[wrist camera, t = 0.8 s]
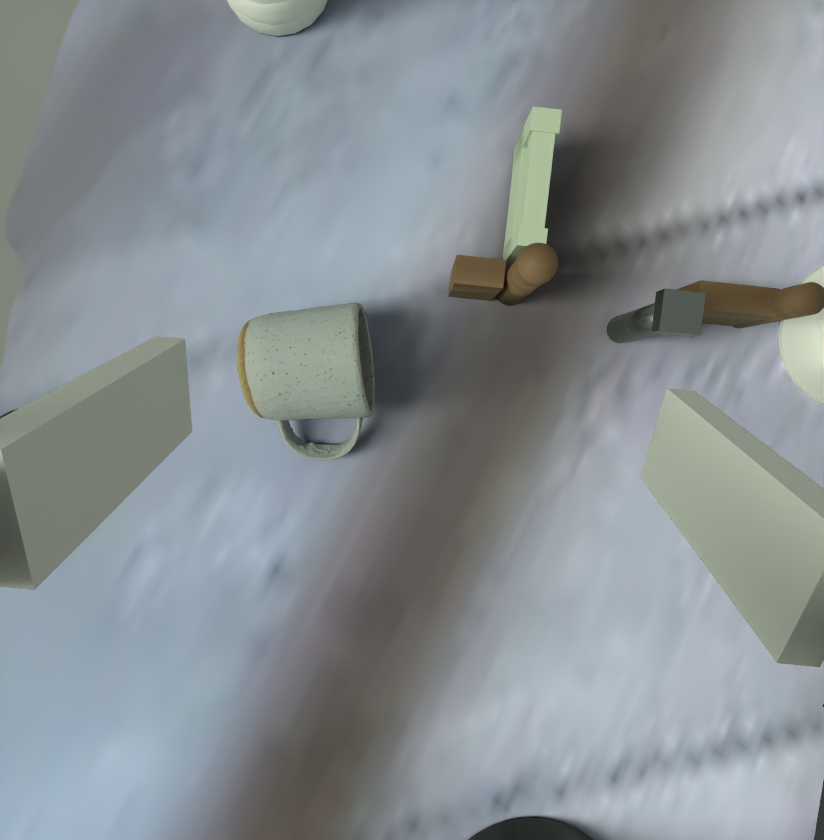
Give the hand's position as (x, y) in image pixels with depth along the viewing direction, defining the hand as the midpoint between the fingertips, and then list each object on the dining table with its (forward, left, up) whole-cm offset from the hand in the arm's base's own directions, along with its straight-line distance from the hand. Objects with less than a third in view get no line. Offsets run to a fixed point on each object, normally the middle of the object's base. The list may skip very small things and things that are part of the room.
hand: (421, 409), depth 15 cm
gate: (+14, -6, -24) cm, 29 cm away
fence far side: (+8, -20, -25) cm, 33 cm away
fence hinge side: (+9, -5, -25) cm, 27 cm away
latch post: (+6, -15, -25) cm, 30 cm away
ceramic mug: (0, +7, -25) cm, 26 cm away
